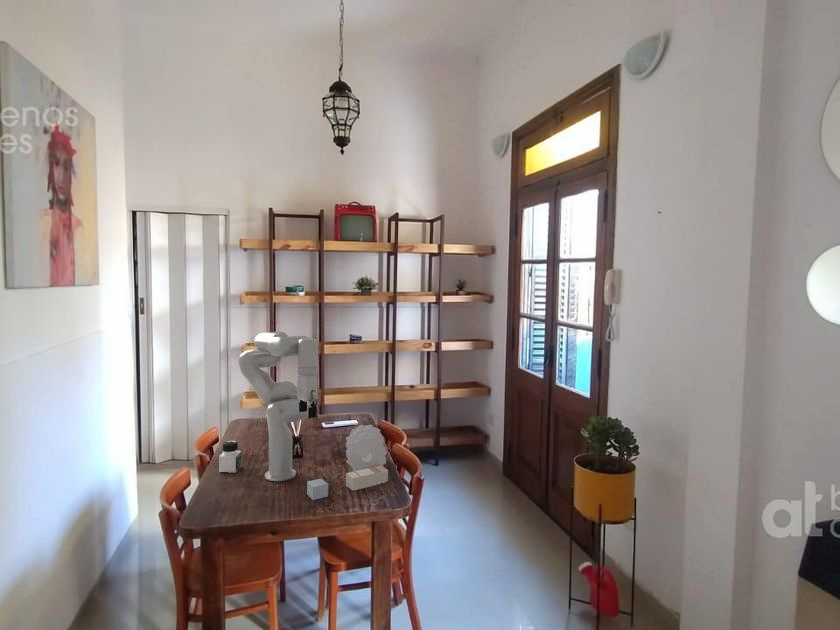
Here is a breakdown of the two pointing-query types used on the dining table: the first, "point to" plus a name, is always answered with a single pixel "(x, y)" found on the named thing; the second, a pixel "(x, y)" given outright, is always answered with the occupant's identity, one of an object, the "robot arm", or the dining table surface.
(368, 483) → the block
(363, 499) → the dining table surface
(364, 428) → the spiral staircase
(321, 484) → the grey box
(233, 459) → the medicine bottle
